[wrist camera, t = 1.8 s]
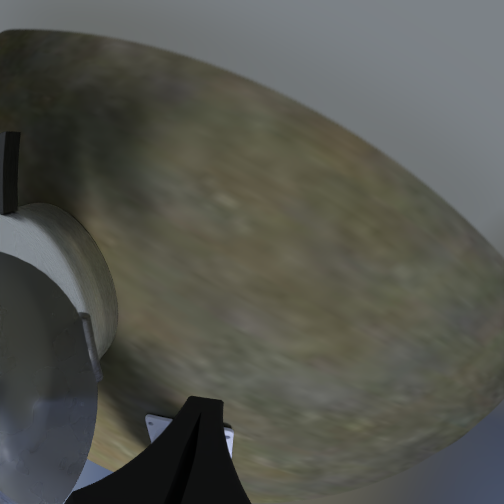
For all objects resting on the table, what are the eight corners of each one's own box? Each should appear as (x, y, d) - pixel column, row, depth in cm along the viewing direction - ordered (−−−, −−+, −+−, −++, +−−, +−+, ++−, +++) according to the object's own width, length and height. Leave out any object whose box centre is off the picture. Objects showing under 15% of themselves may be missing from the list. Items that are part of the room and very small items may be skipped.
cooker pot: (129, 377, 20) (102, 422, 15) (17, 340, 21) (-14, 366, 15) (117, 127, 15) (66, 115, 10) (-5, 147, 15) (-50, 149, 10)
